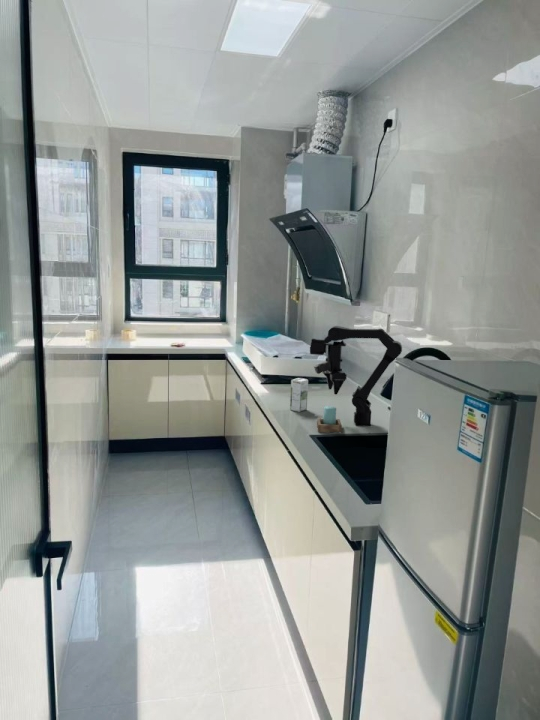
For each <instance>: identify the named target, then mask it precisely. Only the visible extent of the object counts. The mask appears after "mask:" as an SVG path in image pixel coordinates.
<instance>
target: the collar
mask: <svg viewBox="0 0 540 720" xmlns="http://www.w3.org/2000/svg"><path fill="white" fill-rule="evenodd" d="M342 426H343V425H342V423H341V419H340V418H336V424H335V425H326V424H323V418H316V428H318V429H317V432H318V433H330V432H341V433H342V428H343V427H342Z"/></svg>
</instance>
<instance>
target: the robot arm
mask: <svg viewBox="0 0 540 720" xmlns="http://www.w3.org/2000/svg"><path fill="white" fill-rule="evenodd" d="M349 339H377V340H378V341H379V342H381V344H382V345H383V346H384V348H386V350H385V352H384V354H383V357H382V359H381V360H380V361H379V363H378V364H377V365H376V367H375V369H374V370H373V371H372V373H371V374H370V376H369V377H368V378H367V380H366V381H365V382H364V384H363V385H361V386H360V385H357V387H356V389H355V390H354V391H353V393H352V395H351V397H352V399H351V404H352V405H353V407H355V411H354V412H353V422H354V424H355V426H363V427H364V426H366V427H371V426H372V424H371V420H372V409H371V405H372V402H370V400H369V396H370V393H371V392H372V390H373V389H374V387H375V386H376V384H377V382H378V381H379V380H380V378H381V377H382V376H383V374H384V373H385V372H386V370H387V369H388V367H389V366H390V364H391V363H393V361H395V360H396V359H397V358H398V357H399V356H401V354H402V351H403V345H402V343H401V342H400V341H398V340H395V339H394V338H393V337H391V336H390V334H388V333H387V332H386V331H385V330H384V329H383V328H348V327H344V326H341V325H340V326H339V325H334V326H332V327H330V328H329V330H328V331H327V336H326V337H324V338H323V339H320V338H319V339H318V338H312V339H311V342H310V347H309V354H310V355H311V356H312V355H315V356H317V355H318V356H324V355H325V354H327V356H326V358H325V360H324V361H321V362H318V363H316V364H313V368H314V371H315V373H316V374H318V375H319V374H323V375H324V377H326V383H327V387H328V390H332V388H333V393H334V395H338V393H339V392H340V389H341V388H342V386H343V384H344V382H345V381H346V380H347V373H345V372H344V371H343V368H342V363H343V358H342V351H343V350H342V347H346V346H347V343H346V342H345V341H344V340H349ZM332 341H333V342H332ZM330 342H331V343H330ZM395 358H396V359H395Z"/></svg>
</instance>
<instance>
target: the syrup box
mask: <svg viewBox="0 0 540 720" xmlns="http://www.w3.org/2000/svg"><path fill="white" fill-rule="evenodd" d="M308 390H309V379H307V378H303V377H297V378H294V379H291V380H290V400H289V401H290V403H289V404H290V405H289V410H290V411H294V412H299V413H300V412H303V411H304V412H305V411H306V410H307V409H308Z"/></svg>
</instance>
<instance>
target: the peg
mask: <svg viewBox="0 0 540 720" xmlns="http://www.w3.org/2000/svg"><path fill="white" fill-rule="evenodd" d="M322 419H323V424H326V425H335V424H336V419H337V407H335V406H331V405H329V406H327V405H326V406H324V407H323V418H322Z"/></svg>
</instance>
